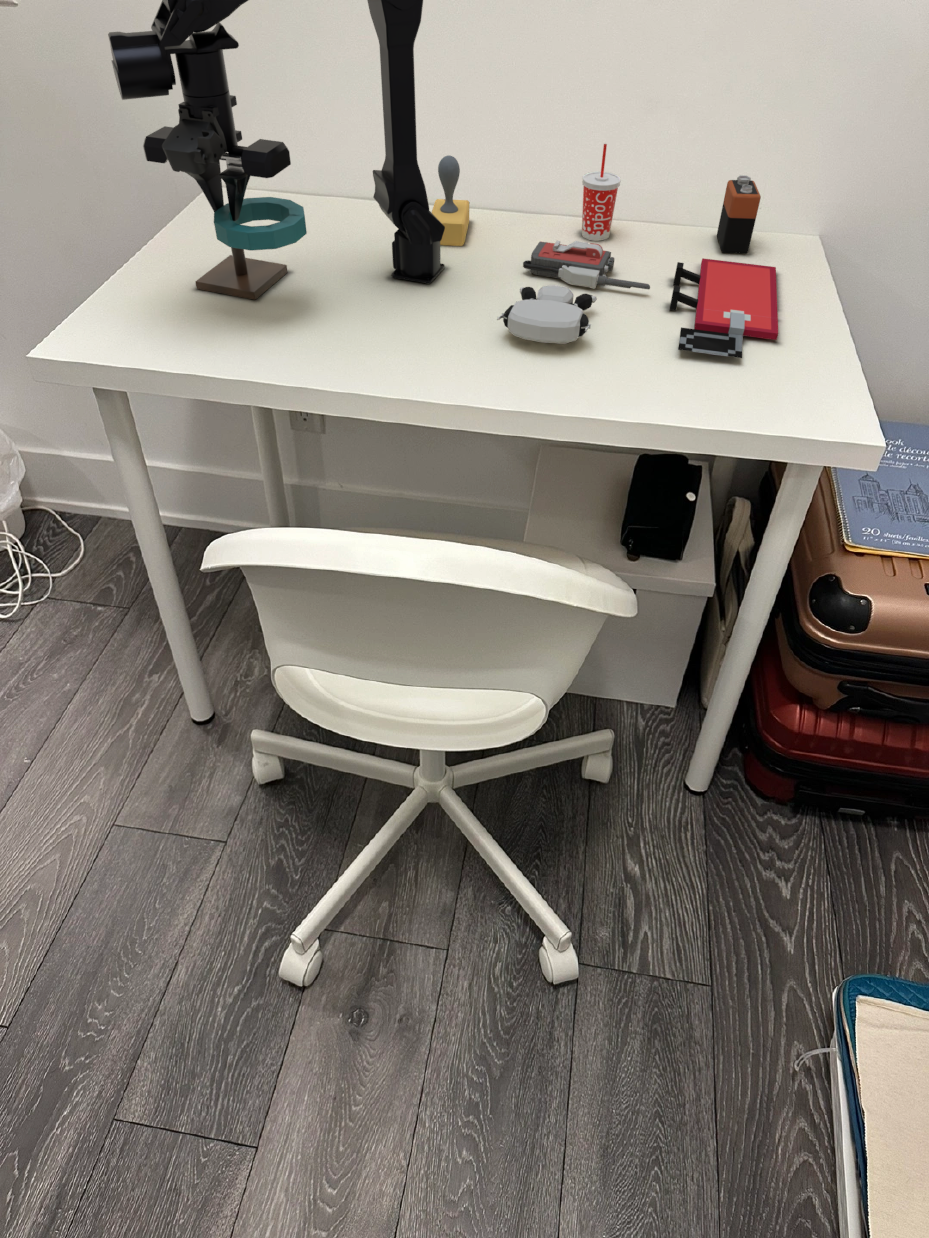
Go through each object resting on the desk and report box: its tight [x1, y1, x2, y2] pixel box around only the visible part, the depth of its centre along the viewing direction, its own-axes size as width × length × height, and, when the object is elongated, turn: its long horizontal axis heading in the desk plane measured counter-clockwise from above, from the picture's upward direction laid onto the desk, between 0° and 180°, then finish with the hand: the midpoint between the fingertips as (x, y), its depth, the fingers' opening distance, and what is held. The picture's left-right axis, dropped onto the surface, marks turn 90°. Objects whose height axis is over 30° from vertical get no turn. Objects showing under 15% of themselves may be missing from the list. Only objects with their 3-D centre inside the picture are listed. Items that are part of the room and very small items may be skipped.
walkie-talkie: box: [522, 240, 651, 290], centre depth 136 cm, size 9×4×20 cm
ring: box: [213, 196, 308, 251], centre depth 121 cm, size 12×12×2 cm
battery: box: [716, 174, 762, 255], centre depth 143 cm, size 4×7×10 cm, turn 176°
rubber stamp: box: [431, 154, 470, 247], centre depth 145 cm, size 10×6×12 cm, turn 175°
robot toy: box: [496, 284, 598, 345], centre depth 124 cm, size 12×4×15 cm
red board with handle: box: [669, 257, 779, 359], centre depth 129 cm, size 30×3×15 cm
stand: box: [195, 247, 289, 301], centre depth 133 cm, size 10×10×8 cm
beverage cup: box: [581, 143, 622, 242], centre depth 144 cm, size 6×6×14 cm
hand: (228, 219), depth 122 cm, fingers closed on ring, 2 cm apart
